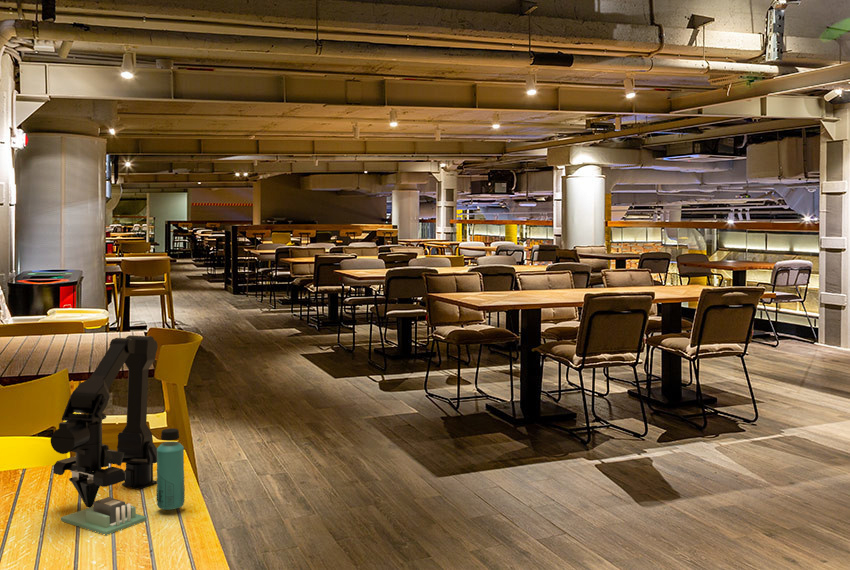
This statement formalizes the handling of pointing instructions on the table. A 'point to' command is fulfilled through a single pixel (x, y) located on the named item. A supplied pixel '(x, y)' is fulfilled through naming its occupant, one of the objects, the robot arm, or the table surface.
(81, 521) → the board
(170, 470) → the beverage bottle
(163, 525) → the table surface
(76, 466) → the robot arm
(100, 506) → the plug
